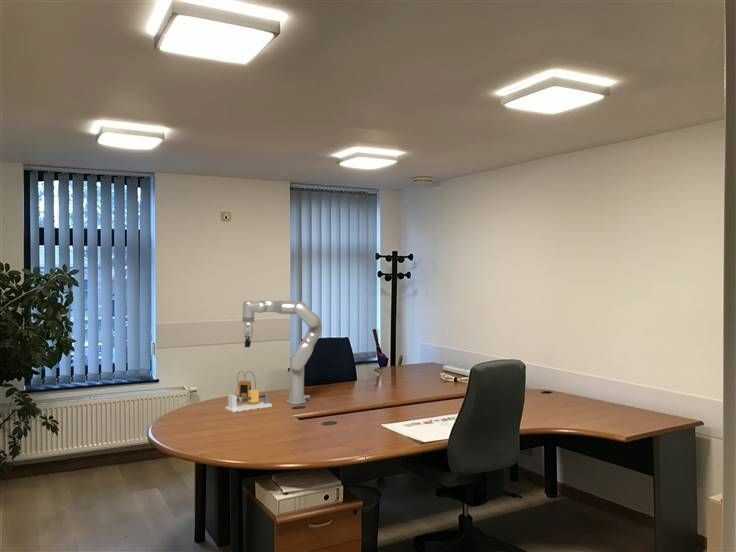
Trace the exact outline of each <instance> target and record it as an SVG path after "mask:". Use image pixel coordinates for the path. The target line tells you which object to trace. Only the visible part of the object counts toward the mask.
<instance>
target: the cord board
mask: <svg viewBox="0 0 736 552" xmlns="http://www.w3.org/2000/svg"><path fill="white" fill-rule="evenodd" d="M260 398H263V399H262V400H263V401H259V402H253V403H251V402H249V403H248V402H247V403H243V404H237V403H240V402H243V401H242V400H247V399H251V397H247V398H241V397H239V398H238V396H237V395H236V394H228V398H227V400H228V401H227V403H228V404H227V405H228V406H227V405H226V406H225V410H227V409H228V410H227V411H229V410H230V411H229V412H231V411H232V412H231V413H237V412H236V411H238V412H242V411H243V410H245V411H249V410H250V409H252V410H258V409H257V408H259V409H265V408H271V407H273V404H272V403H271V402H270V399H269V398H270V395H269V393H264V394H263V395H259V399H260ZM237 401H238V402H237ZM250 411H251V410H250ZM243 412H244V411H243Z"/></svg>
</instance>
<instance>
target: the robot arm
mask: <svg viewBox="0 0 736 552" xmlns="http://www.w3.org/2000/svg"><path fill="white" fill-rule="evenodd" d="M255 313H260V314H261V313H276V314H280V315H297V316H298V318H300V319H301V320H302V321H303V322H304V323H305V324H306V325H307V326H308V330H307V332H306V334H305V335H304V337H303V339H302V340H301V341H300V343H299V344H298V347H297V349H296V350H295V353H294V354H292V355H291V356H290V358H289V380H288V383H289V387H288V388H289V389H288V398H287V399H286V403H288V404H290V405H292V404H293V405H301V403H302V404H306V402H307V400H306V399H310V398H311V395H310V394H307V395H306V394H305V365H306V364H307V362H308V361H309V359H310V357H311V356H312V353H313V351H314V347H315V345H316V343H317V342H318V340H319V338H320V336H321V334H322V330H323V325H322V320H321V319H320V317H319V315H318V314H316V313H315V312H314V311H312V310H311V309H310V307H309V306H308V305H307V304H306V303H305V302H304V301H299V300H298V301H296V300H295V301H294V300H293V301H291V300H259V301H253V300H245V301H243V303H242V319H241V320H242V323H243V326H244V327H243V334H244V338H245V339H244V348H250V347H251V342H252V341H251V339H252V338H253V330H254V327H253V325H254V323H255Z"/></svg>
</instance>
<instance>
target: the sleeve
mask: <svg viewBox="0 0 736 552" xmlns="http://www.w3.org/2000/svg"><path fill="white" fill-rule="evenodd" d="M259 394H260V392H259V390H258V389H256V390H255V389H251V390H249V396H248V397H251V399H248V402H249V403H255V402H260V398H259V396H260V395H259ZM248 402H247V403H248Z"/></svg>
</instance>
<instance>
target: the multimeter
mask: <svg viewBox="0 0 736 552" xmlns="http://www.w3.org/2000/svg"><path fill="white" fill-rule="evenodd" d="M248 372H249V373H251V374H252V375H253V379H254V380H256V378H255V375H254V373H253V372H252V371H250V370H249V371H246V372H245V373H244V380H240V381H239V374H240V373H242V370H240V371H239V372H238V374H237V380H238V387H237V389H236V391H235V393H234V395H236V393H237V391H238V396H237V399H238V398H239V397H241V398H247V397H248V396H249V390H252V385H251V384H252V383H251V381H250V380H247V376H246V375H247V373H248ZM254 382H255V383H254V385H255V388H254V390H257V387H256V386H257V383H256V381H254ZM247 401H248V399H247V400H242V401H241V402H247Z"/></svg>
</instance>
